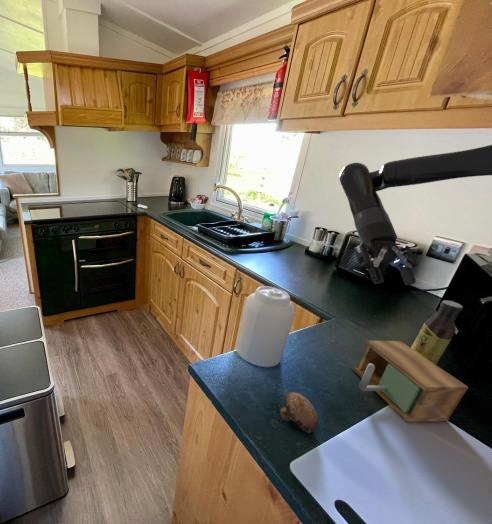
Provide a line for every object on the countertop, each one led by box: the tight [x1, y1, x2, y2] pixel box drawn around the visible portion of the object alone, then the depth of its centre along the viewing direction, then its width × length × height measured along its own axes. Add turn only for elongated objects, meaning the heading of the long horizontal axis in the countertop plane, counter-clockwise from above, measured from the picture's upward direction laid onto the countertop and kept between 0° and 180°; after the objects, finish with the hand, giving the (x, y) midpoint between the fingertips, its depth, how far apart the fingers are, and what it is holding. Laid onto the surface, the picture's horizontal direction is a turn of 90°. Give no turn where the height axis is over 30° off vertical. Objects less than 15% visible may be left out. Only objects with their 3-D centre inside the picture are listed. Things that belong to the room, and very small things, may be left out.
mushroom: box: [279, 391, 319, 434], centre depth 62 cm, size 8×8×6 cm
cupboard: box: [353, 340, 469, 423], centre depth 70 cm, size 10×16×10 cm, turn 4°
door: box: [358, 363, 421, 413], centre depth 67 cm, size 7×8×8 cm
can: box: [234, 285, 295, 368], centre depth 80 cm, size 12×12×20 cm
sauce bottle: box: [410, 300, 464, 365], centre depth 81 cm, size 6×6×20 cm
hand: (395, 283), depth 72 cm, fingers open, 8 cm apart
